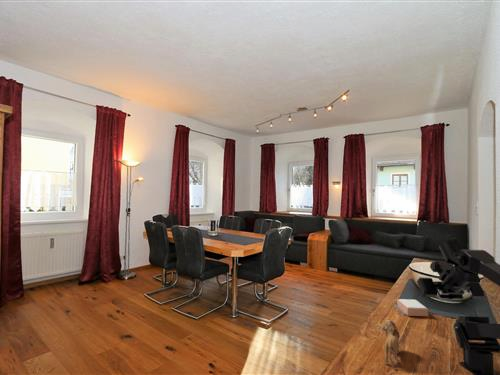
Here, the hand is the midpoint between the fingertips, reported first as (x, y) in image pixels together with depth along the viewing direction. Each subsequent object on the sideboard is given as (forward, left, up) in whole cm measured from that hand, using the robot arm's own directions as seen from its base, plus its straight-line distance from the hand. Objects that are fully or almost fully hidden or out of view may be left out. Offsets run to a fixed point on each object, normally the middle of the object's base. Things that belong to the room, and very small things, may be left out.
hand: (440, 299), depth 99 cm
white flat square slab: (+23, -5, -13) cm, 27 cm away
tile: (+16, -4, -12) cm, 20 cm away
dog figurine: (-8, +24, -14) cm, 29 cm away
